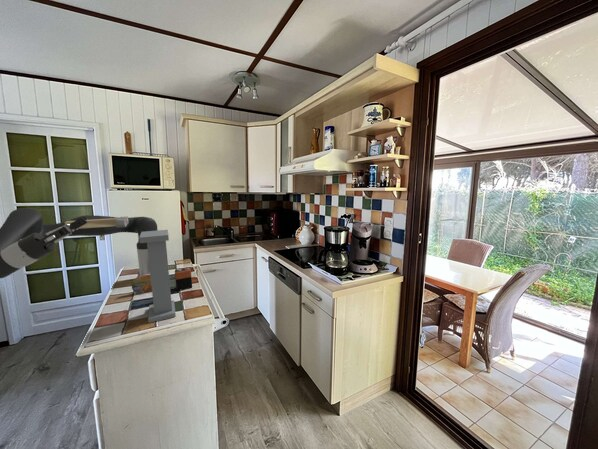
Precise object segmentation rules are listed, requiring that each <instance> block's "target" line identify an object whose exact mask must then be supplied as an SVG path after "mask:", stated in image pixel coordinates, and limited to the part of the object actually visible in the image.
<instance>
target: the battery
mask: <svg viewBox="0 0 598 449" xmlns="http://www.w3.org/2000/svg"><path fill="white" fill-rule="evenodd" d="M174 278H175V288H176V291H182V290H187V289H191V288H193V280H192V270H191V268H190V267H188V266H187V267H184V268H180V267H179V268H176V270H174Z"/></svg>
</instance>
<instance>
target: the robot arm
mask: <svg viewBox="0 0 598 449" xmlns="http://www.w3.org/2000/svg"><path fill="white" fill-rule="evenodd" d="M113 218H119V217H118V216H117V217H115V216H109V215H92V214H91V215H90V214H89V215H87V214H86V215H85V214H84V215H79V216H76V217H74V218H70V219H68V220H64V221H61V222H58V223H57V222H56V223H46V224H45V223H44V217H43V214H42V213H41V212H40V211H39V210H38V209H37V210H36V209H34V208H30V207H29V208H28V207H19V208H16V209H14V210H12V211H11V212H10V213H9V215H7V217H6V219H5V221H4V222H3V224H2V225H1V226H0V279H4V278H6V277H8V276H11V275H12V274H14V273H15V272H18V271H19V270H21V269H22V268H25V267H28V266H29V265H32V264H34V263H35V262H37V261H39V260H41V259H43V258H44V257H46V256H48V255H49V254H51V253H53V252H55V246H54V244H55V245H56V244H57V243H59V242H61V241H63V240H64V239H65V238H67V237H83V236H84V237H90V236H91V237H92V236H93V237H95V236H97V237H98V236H106V235H113V234H117V233H118V234H119V233H129V234H130V233H133V234H137V237H138V240H137V243H136V253H137V259H138V260H137V262H138V270H139V276H141V275H146V274H150V267H149V257H148V248H147V243H140V241H139V237H140V234H141V232H145V231H158V224H157V222H156V220H155V219H154V218H152V217H148V216H134V217H128V222H129V223H128V224H127V225H126V227H118V228H116V226H110V227H95V228H81V229H77V228H79V227H81V226H83V225H84V224H86V223H87V221H86V220H96V219H113ZM66 221H74V222H73V223H71V225H70V224H67V225H66V226H65V222H66ZM74 228H75V229H74Z"/></svg>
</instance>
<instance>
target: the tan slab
mask: <svg viewBox="0 0 598 449" xmlns="http://www.w3.org/2000/svg"><path fill="white" fill-rule="evenodd" d="M128 218H129V217H128V215H127V216H119V217H118V218H113V219H96V220H86V221H87V223H86V224H84V225H83V226H81V227H79V228H77V229H81V228H95V227H110V226H116V228H118V227H126V225H127V224H128V223H129V222H128ZM65 221H66V222H65ZM65 221H64V222H65V226H66V225H67V224H70V225H71V223H73V222H74V221H68V220H65ZM74 229H75V228H74Z"/></svg>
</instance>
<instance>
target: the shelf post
mask: <svg viewBox="0 0 598 449" xmlns="http://www.w3.org/2000/svg"><path fill="white" fill-rule="evenodd" d="M169 240H170V239H169V230H168V229H160V230H158V231H145V232H141V234H140V237H139V241H140V243H147V248H148V257H149V267H150V277H151V286H152V292H151V293H152V294H151V296H152V302H153V303H152V304H149V305H148V306H149V308H148V313H147V314H148V315H147V317H148V318H147V322H148V324H150V323H155V322H159V321H163V320H168V319H172V318H176V317H177V316H176V306H175V300H174V299H173V300H172V296H171V294H172V293H171V284H170V283H171V282H170V272H169V262H168V261H169V260H168V250H167V241H168V242H169Z"/></svg>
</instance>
